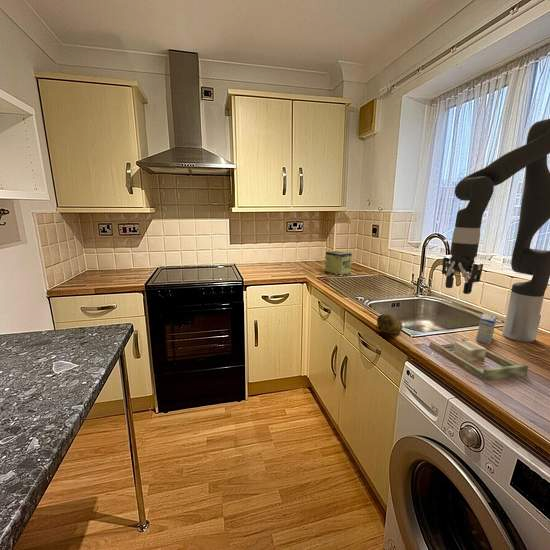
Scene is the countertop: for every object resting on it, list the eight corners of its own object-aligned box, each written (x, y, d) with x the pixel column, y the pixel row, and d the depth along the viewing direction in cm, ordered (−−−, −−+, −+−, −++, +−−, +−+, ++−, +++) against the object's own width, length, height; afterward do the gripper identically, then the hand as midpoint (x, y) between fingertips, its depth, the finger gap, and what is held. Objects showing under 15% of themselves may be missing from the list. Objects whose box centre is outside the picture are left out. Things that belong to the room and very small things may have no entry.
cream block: (468, 351, 101) (470, 340, 100) (484, 360, 95) (486, 348, 94) (453, 352, 99) (455, 341, 99) (467, 361, 94) (469, 350, 93)
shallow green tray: (464, 342, 107) (465, 334, 106) (526, 375, 86) (528, 365, 86) (429, 345, 104) (430, 337, 103) (485, 380, 83) (487, 370, 83)
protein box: (341, 276, 206) (342, 254, 202) (324, 272, 218) (325, 251, 214) (350, 274, 212) (352, 253, 209) (333, 271, 224) (334, 250, 221)
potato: (411, 335, 113) (413, 315, 111) (384, 340, 108) (386, 319, 106) (394, 326, 120) (397, 308, 118) (368, 331, 115) (370, 311, 114)
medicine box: (478, 334, 115) (482, 312, 113) (492, 337, 112) (496, 315, 110) (476, 340, 109) (480, 318, 107) (490, 344, 106) (495, 321, 104)
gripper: (494, 244, 91) (485, 296, 95) (457, 239, 105) (450, 284, 108) (474, 244, 89) (465, 297, 93) (438, 239, 103) (432, 285, 107)
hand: (457, 290), depth 101 cm, fingers open, 7 cm apart
